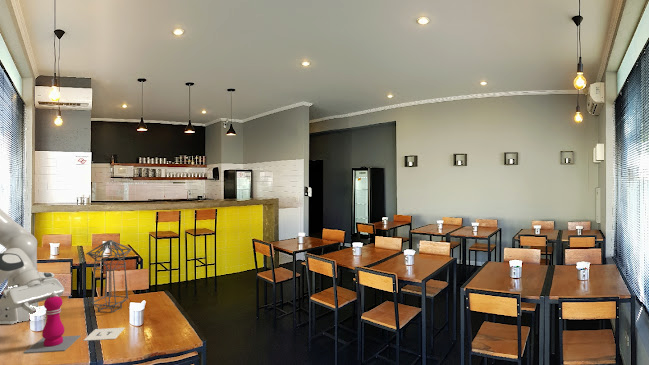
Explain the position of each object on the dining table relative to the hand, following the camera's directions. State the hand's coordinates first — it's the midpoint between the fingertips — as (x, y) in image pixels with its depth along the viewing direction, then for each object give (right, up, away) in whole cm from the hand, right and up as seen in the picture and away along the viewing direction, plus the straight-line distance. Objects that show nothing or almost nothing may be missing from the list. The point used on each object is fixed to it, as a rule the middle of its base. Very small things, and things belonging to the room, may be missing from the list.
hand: (45, 309), depth 158 cm
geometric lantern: (+5, -13, +38) cm, 41 cm away
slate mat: (+5, -13, -2) cm, 14 cm away
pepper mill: (+5, -13, -2) cm, 14 cm away
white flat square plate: (+19, -13, +8) cm, 25 cm away
